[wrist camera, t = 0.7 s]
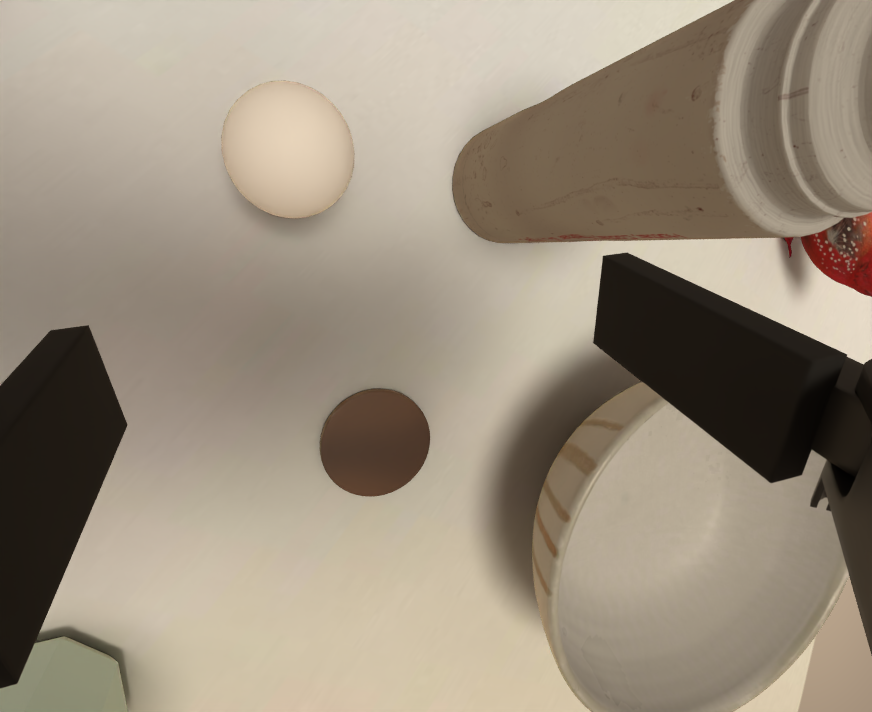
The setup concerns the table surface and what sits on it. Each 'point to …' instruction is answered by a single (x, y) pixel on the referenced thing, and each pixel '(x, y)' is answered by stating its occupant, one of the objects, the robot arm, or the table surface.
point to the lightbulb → (287, 149)
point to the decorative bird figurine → (843, 252)
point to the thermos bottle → (691, 136)
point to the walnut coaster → (374, 442)
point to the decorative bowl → (676, 563)
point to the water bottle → (66, 681)
